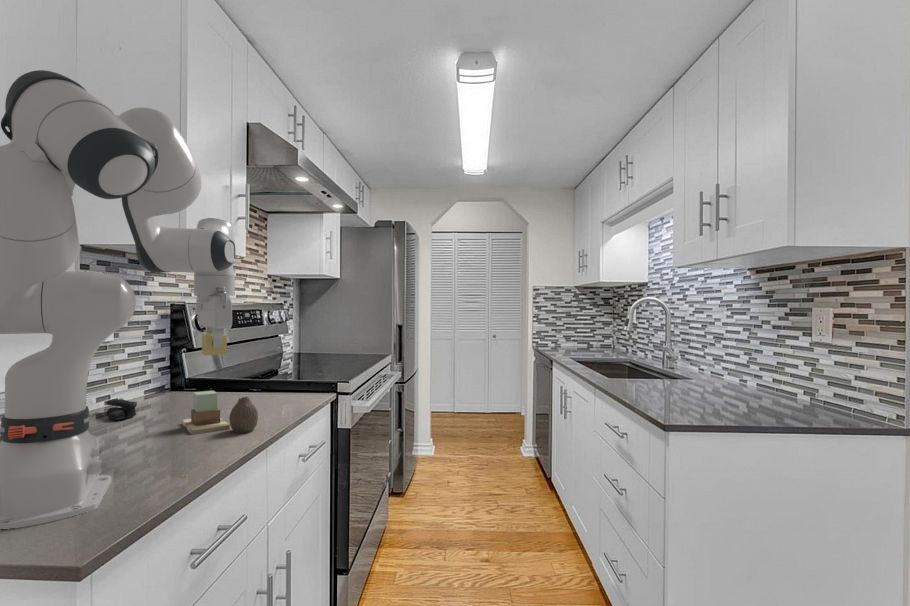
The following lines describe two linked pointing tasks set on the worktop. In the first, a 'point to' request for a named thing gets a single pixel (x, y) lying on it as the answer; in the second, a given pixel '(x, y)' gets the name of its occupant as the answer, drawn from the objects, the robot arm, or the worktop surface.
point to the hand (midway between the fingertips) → (214, 346)
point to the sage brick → (204, 401)
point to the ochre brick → (209, 349)
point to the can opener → (121, 409)
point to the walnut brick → (205, 417)
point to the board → (205, 426)
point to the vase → (243, 416)
